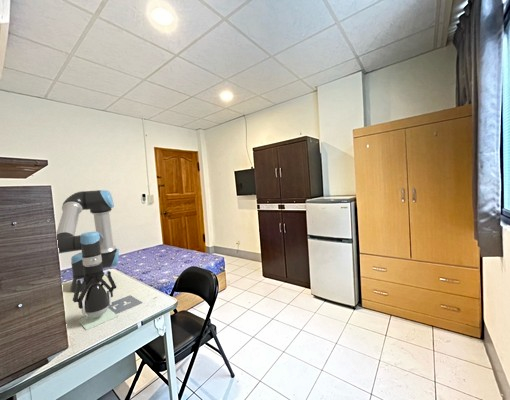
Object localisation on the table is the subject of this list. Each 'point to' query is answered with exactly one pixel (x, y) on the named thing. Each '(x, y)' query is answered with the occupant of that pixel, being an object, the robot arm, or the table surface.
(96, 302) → the pump dispenser
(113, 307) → the tile
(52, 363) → the table surface
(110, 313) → the mat
